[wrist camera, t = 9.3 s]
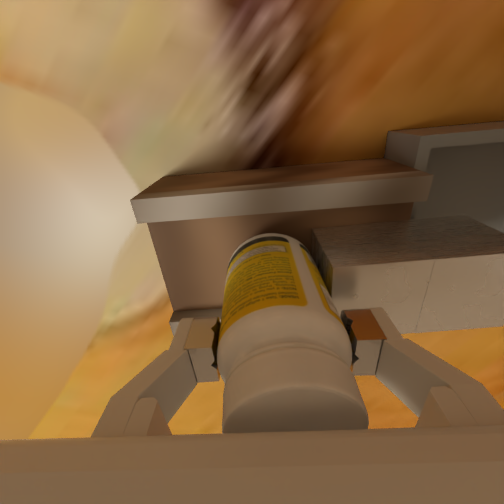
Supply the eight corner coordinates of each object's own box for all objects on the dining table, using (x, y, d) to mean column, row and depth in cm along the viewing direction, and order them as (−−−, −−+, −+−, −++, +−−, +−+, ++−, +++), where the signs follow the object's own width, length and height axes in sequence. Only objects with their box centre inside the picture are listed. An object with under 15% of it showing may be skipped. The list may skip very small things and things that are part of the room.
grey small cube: (387, 221, 14) (435, 259, 10) (377, 283, 16) (414, 332, 12) (311, 228, 14) (333, 267, 10) (310, 288, 16) (328, 339, 12)
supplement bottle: (214, 285, 15) (178, 455, 7) (252, 215, 13) (256, 349, 5) (286, 314, 16) (319, 488, 8) (330, 253, 14) (425, 410, 6)
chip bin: (584, 113, 15) (668, 113, 12) (503, 284, 20) (546, 313, 17) (388, 131, 15) (420, 135, 12) (363, 292, 21) (381, 323, 18)
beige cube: (464, 214, 13) (540, 250, 10) (444, 277, 15) (502, 326, 12) (387, 221, 14) (435, 259, 10) (377, 283, 16) (414, 333, 12)
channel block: (383, 157, 16) (433, 175, 12) (365, 277, 20) (396, 323, 16) (163, 176, 17) (130, 200, 12) (190, 289, 21) (173, 336, 16)
